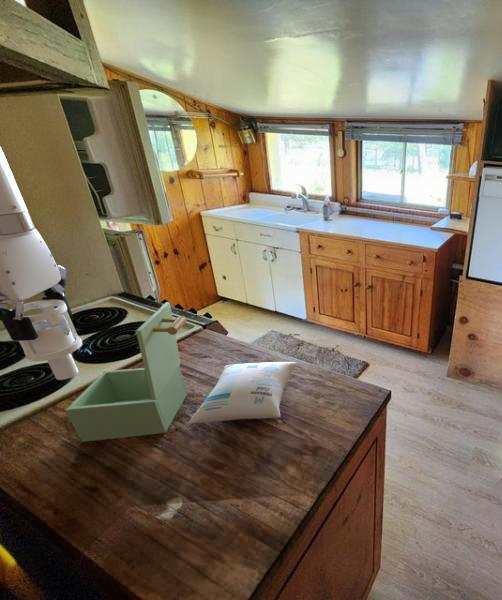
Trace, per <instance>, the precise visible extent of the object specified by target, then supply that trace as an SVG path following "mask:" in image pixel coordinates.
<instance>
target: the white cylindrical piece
mask: <svg viewBox="0 0 502 600" xmlns="http://www.w3.org/2000/svg"><path fill="white" fill-rule="evenodd" d="M54 306H57V308H54ZM35 309H40V310H41V312H42V313H37V314H31V315H23V317H29V319H30V321H31V323H32V325H33V327H34V329H35V331H36V333H37V335H38V338H37V339H35V340H24V341H18V342H19V344H20V346H21V348H22V350H23V353H24V355H25V357H26V359H27V360H28V361H30V362H46V361H47V364H48V365H49V367H50V370H51V371H52V374H53V376H54V378H55V380H57V381H64V380H68V379H71V378H73V377H75V376H76V375H78V373H79V368H78V366H77V365H76V363H75V360H74V358H73V356H72V354H73V353H74V352H75V351H77V350H79V349H80V348H81V347H82V346H83V340H82V339H81V337H80V336H79V335H78V333H77V330H76V328H75V326H74V323H73V321H72V318H71V317H70V316H69V314H68V312H67V306H66V304H65V302H64V301H62V300H55V299H52V300H35V301H31V302H26V303H24V313H26V312H28V311H30V310H35ZM9 310H10V311H12V308H10V309H9Z"/></svg>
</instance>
